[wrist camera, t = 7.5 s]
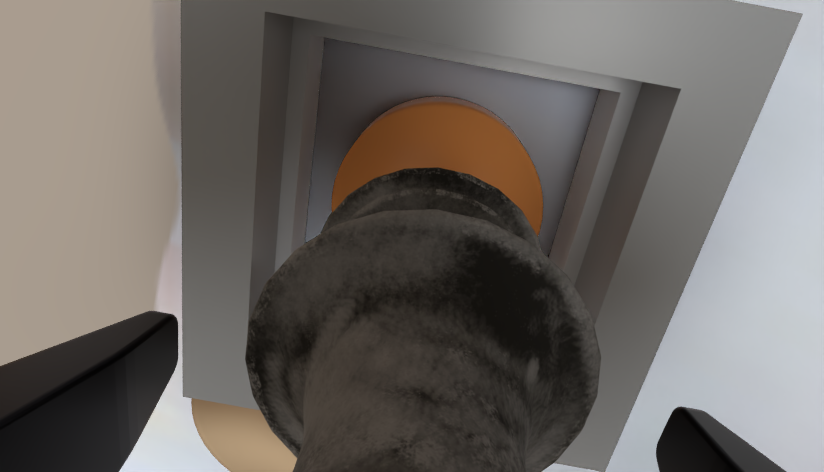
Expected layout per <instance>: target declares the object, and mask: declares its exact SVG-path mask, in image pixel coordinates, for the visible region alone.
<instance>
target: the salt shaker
mask: <svg viewBox="0 0 824 472" xmlns="http://www.w3.org/2000/svg"><path fill="white" fill-rule="evenodd" d="M245 362H246V366H247V371H248V376H249V380H250V385H251V390H252V394H253V397H254V399H255V401H256V403H257V405H258V407H259V408H260V410H261V412H262V414H263V416H264V418H265V420H266V422H267V423H268V425H269V427H270V429H271V430H272V432H273V433H274V434H275V435H276V436H277V437H278V438H279V439H280V440H281V441H282V443H283V444H284V445H285V446H286V447H287V448H288V449H289V450H290V451H291V452H292V453H293V454H294V456H295V457H296V458H297V461H296V464H295V467H294V470H293V472H541V471H543V470H544V469H546V468H547V467H548V466H550V465H551V464H553V463H554V462H555V461H557V460H558V458H559V457H560V456H561V455H562V454H563V452H564V451H565V450H566V449H567V448H568V447H569V445H570V444H571V443H572V442H573V441H574V440H575V438H576V437H577V436H578V435H579V434H580V432H581V431H582V429H583V427H584V425H585V423H586V420H587V418H588V416H589V414H590V411H591V409H592V407H593V404H594V402H595V400H596V398H597V394H598V384H599V374H600V364H601V353H600V349H599V345H598V340H597V336H596V332H595V327H594V323H593V319H592V315H591V313H590V312H589V310H588V308H587V307H586V305H585V303H584V302H583V300H582V298H581V297H580V295H579V293H578V292H577V290H576V288H575V287H574V285H573V283H572V282H571V280H570V278H569V277H568V275H567V274H566V273H564V272H563V271H562V270H561V269H560V268H559V267H558V266H557V265H556V264H555V263H553V262H552V261H551V260H550V259H549V258H548V257H547V256H546V255H545V254H544V253H542V251H541V247H540V243H539V240H538V236H537V235H536V233H535V231H534V230H533V228H532V226H531V225H530V223H529V221H528V220H527V218H526V216H525V215H524V213H523V211H522V210H521V209H520V208H519V207H518V206H517V205H516V204H514V203H513V202H512V201H511V200H510V199H509V198H508V197H507V196H506V195H505V194H504V193H502V192H501V191H500V190H499V189H498V188H496V187H494V186H492V185H490V184H488V183H486V182H484V181H482V180H480V179H478V178H476V177H474V176H472V175H470V174H466V173H461V172H457V171H452V170H448V169H443V168H439V167H434V168H408V169H402V170H399V171H396V172H393V173H389V174H386V175H383V176H379V177H376V178H374V179H372V180H371V181H369V182H367V183H366V184H364V185H363V186H361V187H360V188H358V189H356V190H355V191H353V192H352V193H350V194H349V195H348V196H347V197H346V198H345V199H344V200H343V201H342V202H341V203H340V205H339V206H338V207H337V208H336V209H335V210H334V211H333V212H332V214H331V215H330V216H329V217H328V219H327V221H326V223H325V225H324V228H323V230H322V232H321V234H320V235H318V236H317V237H315V238H313V239H312V240H310V241H309V242H307V243H305V244H304V245H302V246H300V247H299V248H297V249H296V250H295V251H294V252H293V253H292V254H291V255H290V256H289V258H288V259H287V260H286V261H285V262H284V263H283V264H282V265H281V267H280V268H279V269H278V270H277V271H276V272H275V273H274V274H273V276H272V277H271V278H270V279H269V280H268V281H267V282H266V284H265V286H264V288H263V290H262V293H261V295H260V297H259V299H258V302H257V304H256V306H255V308H254V311H253V313H252V315H251V317H250V320H249V324H248V334H247V345H246V355H245Z"/></svg>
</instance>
